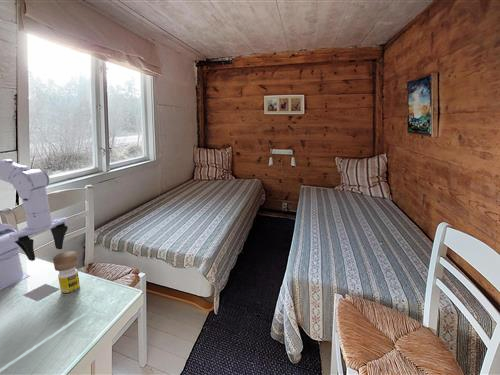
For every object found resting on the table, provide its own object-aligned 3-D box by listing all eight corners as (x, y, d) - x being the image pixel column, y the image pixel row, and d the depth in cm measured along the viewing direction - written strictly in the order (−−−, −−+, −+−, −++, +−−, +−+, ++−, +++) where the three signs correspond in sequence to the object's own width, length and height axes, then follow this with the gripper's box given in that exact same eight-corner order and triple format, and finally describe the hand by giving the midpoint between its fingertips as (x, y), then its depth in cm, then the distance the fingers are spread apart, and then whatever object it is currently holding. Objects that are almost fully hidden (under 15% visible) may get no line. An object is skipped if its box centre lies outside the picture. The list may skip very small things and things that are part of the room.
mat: (23, 296, 77) (22, 294, 76) (45, 285, 82) (45, 283, 82) (38, 302, 74) (37, 300, 74) (60, 290, 79) (59, 289, 79)
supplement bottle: (71, 297, 76) (66, 271, 74) (57, 295, 77) (52, 269, 75) (84, 287, 81) (80, 262, 79) (71, 285, 82) (66, 261, 80)
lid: (50, 268, 75) (48, 258, 75) (69, 259, 80) (67, 250, 80) (63, 272, 73) (61, 262, 73) (82, 263, 78) (80, 253, 78)
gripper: (15, 221, 69) (26, 268, 72) (71, 205, 82) (78, 246, 85) (0, 217, 71) (11, 263, 75) (56, 203, 84) (64, 242, 88)
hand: (46, 254), depth 80 cm, fingers open, 7 cm apart
